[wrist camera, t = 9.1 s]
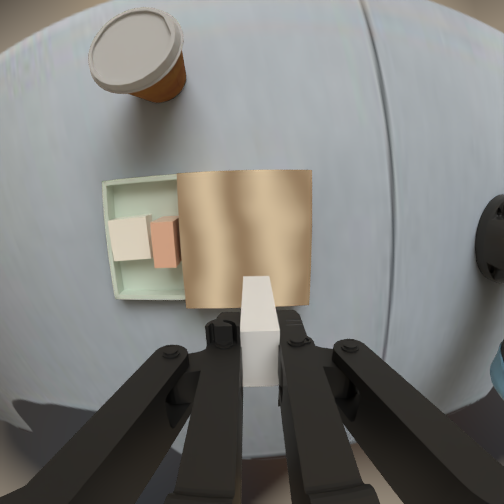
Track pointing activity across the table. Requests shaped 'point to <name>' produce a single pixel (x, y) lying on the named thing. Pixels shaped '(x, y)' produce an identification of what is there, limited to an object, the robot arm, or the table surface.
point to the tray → (158, 204)
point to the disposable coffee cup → (139, 55)
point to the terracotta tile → (166, 242)
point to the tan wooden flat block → (245, 234)
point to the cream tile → (131, 237)
